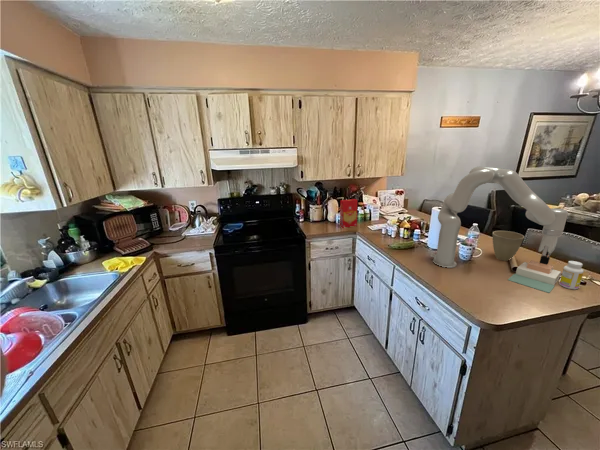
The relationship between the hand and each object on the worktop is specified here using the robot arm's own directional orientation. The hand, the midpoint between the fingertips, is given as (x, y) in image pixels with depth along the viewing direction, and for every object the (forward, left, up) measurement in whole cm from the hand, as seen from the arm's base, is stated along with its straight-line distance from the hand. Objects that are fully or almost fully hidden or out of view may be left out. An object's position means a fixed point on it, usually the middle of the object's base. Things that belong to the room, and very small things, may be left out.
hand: (543, 263), depth 136 cm
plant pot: (-19, +5, -5) cm, 20 cm away
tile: (0, -7, -1) cm, 8 cm away
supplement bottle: (+12, -9, -5) cm, 16 cm away
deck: (0, -8, -5) cm, 10 cm away
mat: (0, -19, -5) cm, 20 cm away
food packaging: (-131, -18, -5) cm, 132 cm away
